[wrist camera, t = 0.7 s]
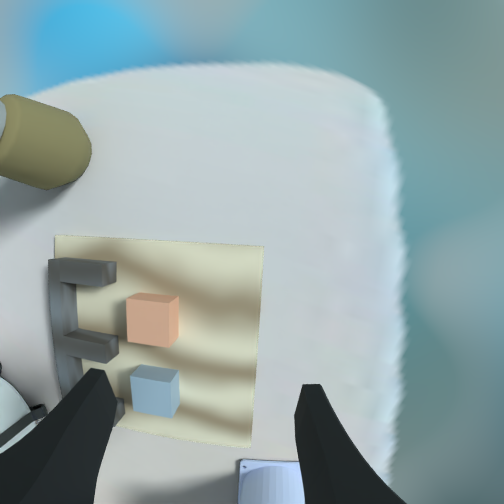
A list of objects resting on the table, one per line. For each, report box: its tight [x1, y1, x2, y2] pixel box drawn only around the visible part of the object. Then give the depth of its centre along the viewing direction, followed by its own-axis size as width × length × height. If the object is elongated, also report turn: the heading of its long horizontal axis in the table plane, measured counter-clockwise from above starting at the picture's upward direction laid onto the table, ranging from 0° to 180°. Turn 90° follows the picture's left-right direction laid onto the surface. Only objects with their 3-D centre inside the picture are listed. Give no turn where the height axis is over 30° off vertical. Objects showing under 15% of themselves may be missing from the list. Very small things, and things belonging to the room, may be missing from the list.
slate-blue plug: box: [130, 364, 180, 418], centre depth 28 cm, size 4×4×3 cm
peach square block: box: [126, 292, 179, 348], centre depth 28 cm, size 4×4×3 cm
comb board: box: [48, 235, 264, 448], centre depth 28 cm, size 22×22×4 cm
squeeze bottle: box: [0, 94, 92, 190], centre depth 20 cm, size 8×8×18 cm
